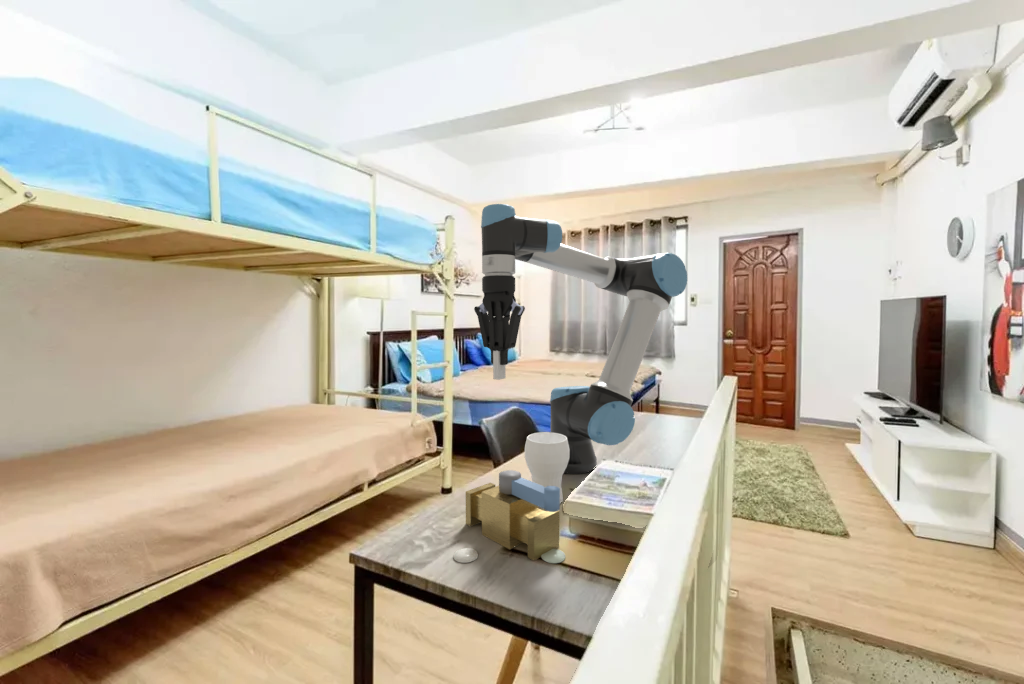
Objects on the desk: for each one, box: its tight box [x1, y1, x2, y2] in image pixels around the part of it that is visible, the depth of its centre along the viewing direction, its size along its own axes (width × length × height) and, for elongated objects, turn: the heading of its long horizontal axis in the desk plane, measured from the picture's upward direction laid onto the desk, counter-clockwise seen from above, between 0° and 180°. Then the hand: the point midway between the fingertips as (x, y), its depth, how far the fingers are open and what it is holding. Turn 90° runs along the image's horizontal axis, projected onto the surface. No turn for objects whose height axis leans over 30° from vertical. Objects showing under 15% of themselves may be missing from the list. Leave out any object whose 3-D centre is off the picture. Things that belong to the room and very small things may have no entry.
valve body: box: [465, 482, 560, 562], centre depth 89 cm, size 20×8×9 cm, turn 44°
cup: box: [524, 431, 570, 504], centre depth 106 cm, size 11×11×15 cm
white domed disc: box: [453, 547, 479, 564], centre depth 82 cm, size 4×4×1 cm
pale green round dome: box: [540, 548, 566, 564], centre depth 82 cm, size 4×4×1 cm
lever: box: [498, 469, 561, 512], centre depth 85 cm, size 15×4×4 cm, turn 42°
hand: (499, 378), depth 103 cm, fingers closed
